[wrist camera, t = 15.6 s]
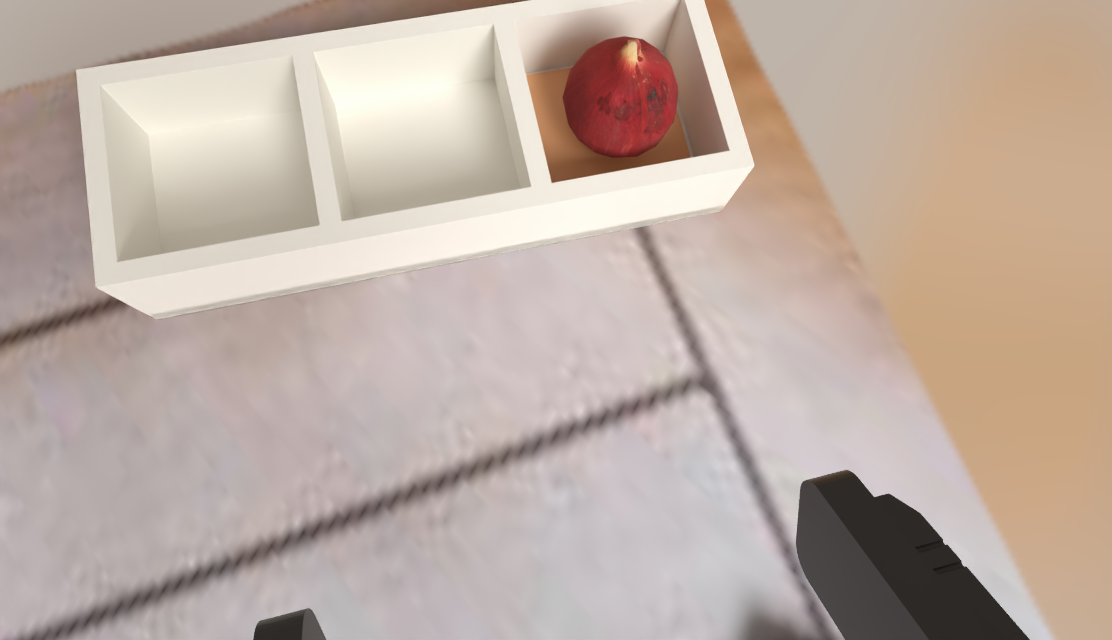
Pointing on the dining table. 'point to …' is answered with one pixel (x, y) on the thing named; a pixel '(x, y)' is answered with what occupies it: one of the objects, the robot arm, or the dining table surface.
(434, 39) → the compartment tray
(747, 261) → the dining table surface
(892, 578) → the robot arm
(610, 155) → the onion
